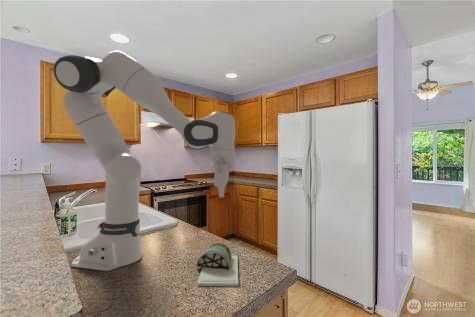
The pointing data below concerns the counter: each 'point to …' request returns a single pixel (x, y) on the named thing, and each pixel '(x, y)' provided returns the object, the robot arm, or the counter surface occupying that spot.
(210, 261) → the food container
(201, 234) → the counter surface
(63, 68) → the robot arm
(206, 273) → the cutting board
